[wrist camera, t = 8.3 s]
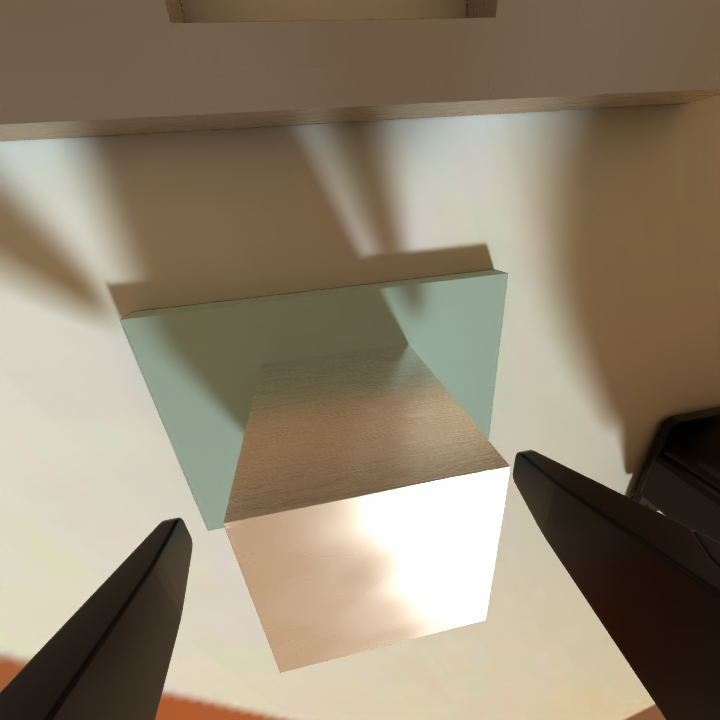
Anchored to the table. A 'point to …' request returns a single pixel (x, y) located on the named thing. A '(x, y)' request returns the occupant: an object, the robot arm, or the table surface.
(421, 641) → the table surface
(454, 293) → the teal pad
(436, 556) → the pale wooden block
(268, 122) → the grey flat plate
